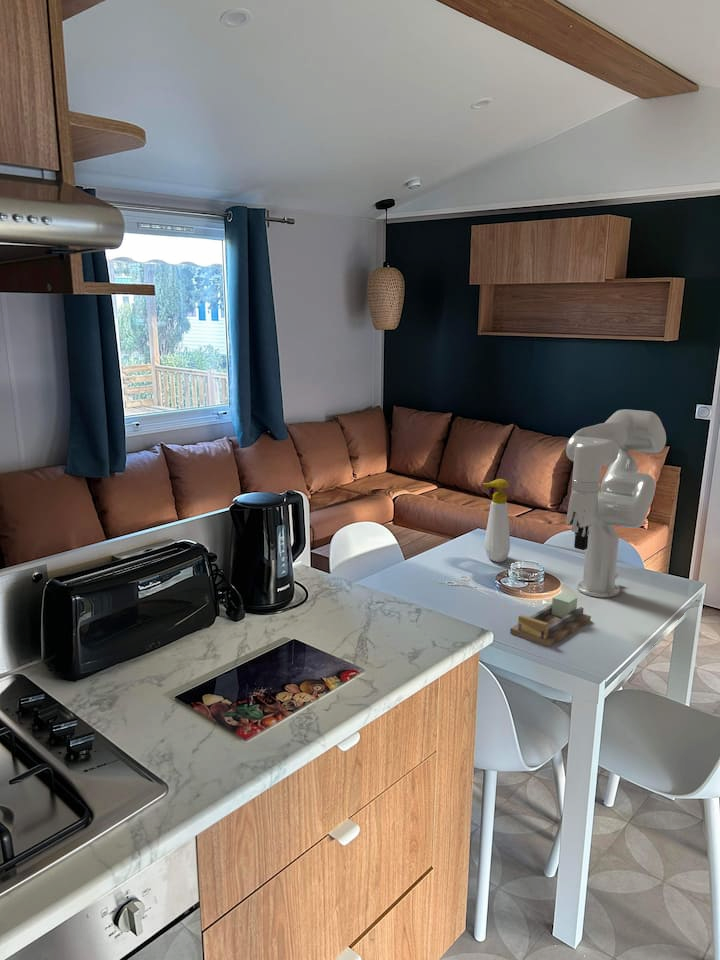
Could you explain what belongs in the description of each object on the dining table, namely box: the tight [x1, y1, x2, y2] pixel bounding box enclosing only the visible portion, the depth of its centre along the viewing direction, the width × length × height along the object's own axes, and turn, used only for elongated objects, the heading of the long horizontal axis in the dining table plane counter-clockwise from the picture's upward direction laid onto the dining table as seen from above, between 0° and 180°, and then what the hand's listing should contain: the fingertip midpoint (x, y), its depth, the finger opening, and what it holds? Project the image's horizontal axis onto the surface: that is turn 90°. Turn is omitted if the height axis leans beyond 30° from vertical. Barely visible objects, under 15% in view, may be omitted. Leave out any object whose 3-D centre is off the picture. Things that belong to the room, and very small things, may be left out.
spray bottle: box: [481, 478, 511, 563], centre depth 257 cm, size 13×10×29 cm
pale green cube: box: [551, 592, 578, 618], centre depth 210 cm, size 5×5×5 cm
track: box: [509, 604, 592, 648], centre depth 205 cm, size 23×12×6 cm, turn 137°
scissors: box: [438, 575, 501, 598], centre depth 235 cm, size 11×1×20 cm
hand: (580, 548), depth 211 cm, fingers closed
